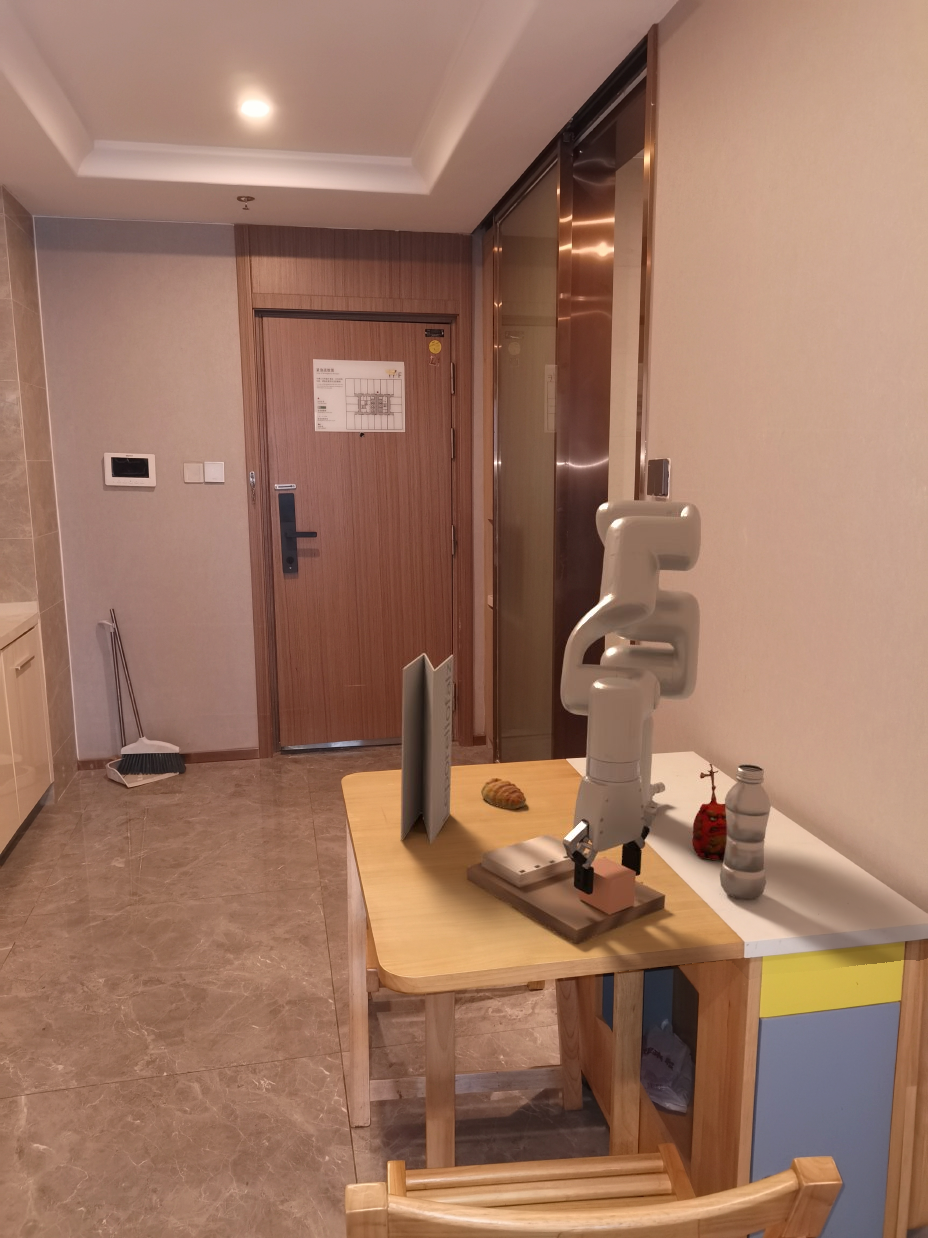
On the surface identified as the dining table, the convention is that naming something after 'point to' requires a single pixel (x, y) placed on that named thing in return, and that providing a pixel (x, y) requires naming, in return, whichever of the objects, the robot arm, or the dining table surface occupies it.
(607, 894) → the salmon upright block
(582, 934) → the wooden base board
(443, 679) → the brochure
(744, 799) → the plastic bottle
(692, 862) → the dining table surface
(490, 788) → the pastry
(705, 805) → the red clay folk toy
